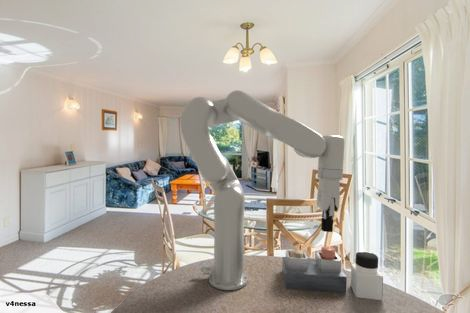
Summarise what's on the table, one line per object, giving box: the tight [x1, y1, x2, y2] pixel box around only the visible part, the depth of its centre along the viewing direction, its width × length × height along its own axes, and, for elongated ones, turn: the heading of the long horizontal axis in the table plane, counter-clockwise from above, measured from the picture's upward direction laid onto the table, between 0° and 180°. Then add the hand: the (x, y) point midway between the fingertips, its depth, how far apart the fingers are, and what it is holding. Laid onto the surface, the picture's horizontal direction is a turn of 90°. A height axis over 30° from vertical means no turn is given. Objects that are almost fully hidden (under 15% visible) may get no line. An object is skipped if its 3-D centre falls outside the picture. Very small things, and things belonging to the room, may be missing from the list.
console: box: [281, 249, 348, 294], centre depth 86 cm, size 18×12×9 cm, turn 84°
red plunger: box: [320, 246, 336, 259], centre depth 85 cm, size 4×4×4 cm
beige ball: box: [290, 249, 303, 258], centre depth 86 cm, size 4×4×4 cm
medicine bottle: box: [350, 250, 384, 301], centre depth 79 cm, size 7×7×12 cm
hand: (326, 230), depth 85 cm, fingers closed
